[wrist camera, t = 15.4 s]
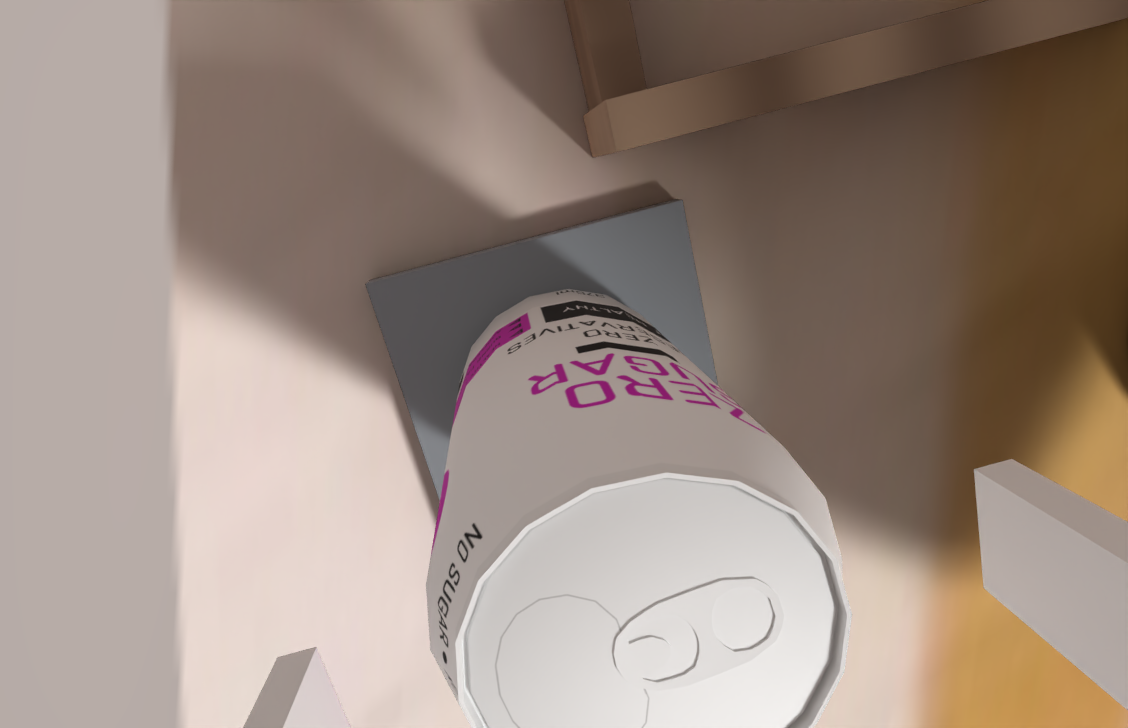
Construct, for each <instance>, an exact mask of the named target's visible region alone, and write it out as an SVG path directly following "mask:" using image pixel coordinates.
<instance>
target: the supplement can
mask: <svg viewBox="0 0 1128 728" xmlns="http://www.w3.org/2000/svg"><path fill="white" fill-rule="evenodd" d="M426 592H427V606H428V621H429V635H430V650H431V652H432V654H433V656H434V657H435V659H436V661H437V663H438V665H439V667H440V669H441V671H442V673H443V675H444V677H445V679H446V680H447V682H448V684H449V686H450V688H451V690H452V692H453V694H454V696H455V698H456V700H457V701H458V703H459V705H460V707H461V709H462V710H463V712H464V714H465V716H466V718H467V720H468V722H469V724H470V726H471V728H814V727H815V726H816V724H817V722H818V720H819V718H820V717H821V715H822V713H823V711H824V709H825V707H826V705H827V703H828V702H829V700H830V698H831V696H832V694H833V692H834V690H835V688H836V687H837V685H838V683H839V681H840V679H841V677H842V675H843V673H844V670H845V663H846V655H847V648H848V641H849V633H850V626H851V618H852V612H851V609H850V605H849V601H848V598H847V594H846V591H845V587H844V583H843V578H842V556H841V553H840V549H839V545H838V542H837V538H836V534H835V531H834V527H833V523H832V520H831V516H830V512H829V509H828V505H827V501H826V498H825V497H824V496H823V494H822V493H821V492H820V491H819V490H818V488H817V487H816V486H815V485H814V483H813V482H812V481H811V480H810V478H809V477H808V476H807V475H806V473H805V472H804V471H803V470H802V468H801V467H800V466H799V465H798V463H797V462H796V461H795V460H794V458H793V457H792V456H791V455H790V454H789V452H788V451H787V450H786V449H785V447H784V446H783V445H781V444H780V443H779V442H778V441H777V440H776V439H775V438H774V437H773V436H772V435H771V434H769V433H768V432H767V431H766V430H765V429H764V428H763V427H762V426H761V425H760V424H759V423H758V422H756V421H755V420H754V419H753V418H752V417H751V416H750V415H749V414H748V413H747V412H746V411H745V410H743V409H742V408H741V407H740V406H739V405H738V404H737V403H736V402H735V401H734V400H733V399H732V398H730V397H729V396H728V395H727V394H726V393H725V392H724V391H723V390H722V389H721V388H720V387H719V386H717V385H716V384H715V383H714V382H713V381H712V380H711V379H710V378H709V377H708V376H707V375H705V374H704V373H703V372H702V371H701V370H700V369H699V368H698V367H697V366H696V365H695V364H694V363H692V362H691V361H690V360H689V359H688V358H687V357H686V356H685V355H684V354H683V353H682V352H681V351H679V350H678V349H677V348H676V347H675V346H674V345H673V344H672V343H671V342H670V341H669V340H668V339H666V338H665V337H664V336H663V335H662V334H661V333H660V332H659V331H658V330H657V329H656V328H655V327H653V326H652V325H651V324H650V323H649V322H648V321H647V320H646V319H645V318H644V317H643V316H641V315H640V314H639V313H638V312H636V311H634V310H632V309H631V308H629V307H627V306H625V305H623V304H622V303H620V302H618V301H616V300H615V299H613V298H611V297H609V296H607V295H604V294H597V293H591V292H585V291H578V290H572V289H565V290H560V291H555V292H550V293H545V294H540V295H535V296H529V297H528V298H526V299H524V300H523V301H521V302H519V303H518V304H516V305H514V306H513V307H511V308H509V309H508V310H506V311H504V312H503V313H501V314H499V315H498V316H496V317H495V318H494V319H493V321H492V322H491V323H490V324H489V326H488V327H487V328H486V329H485V331H484V332H483V333H482V334H481V336H480V337H479V338H478V339H477V340H476V342H475V343H474V344H473V345H472V347H471V350H470V353H469V356H468V359H467V362H466V365H465V368H464V371H463V374H462V377H461V380H460V383H459V389H458V395H457V401H456V407H455V413H454V419H453V425H452V431H451V437H450V443H449V449H448V455H447V461H446V468H445V474H444V480H443V486H442V492H441V498H440V504H439V510H438V516H437V522H436V528H435V534H434V540H433V546H432V552H431V558H430V564H429V570H428V576H427V582H426Z"/></svg>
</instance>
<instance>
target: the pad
mask: <svg viewBox="0 0 1128 728" xmlns="http://www.w3.org/2000/svg"><path fill="white" fill-rule="evenodd" d="M365 285H366V288H367V290H368V293H369V296H370V299H371V302H372V305H373V308H374V311H375V314H376V317H377V320H378V322H379V325H380V328H381V331H382V334H383V337H384V340H385V343H386V346H387V349H388V352H389V355H390V357H391V360H392V363H393V366H394V369H395V372H396V375H397V378H398V381H399V384H400V387H401V389H402V392H403V395H404V398H405V401H406V404H407V407H408V410H409V413H410V416H411V419H412V421H413V424H414V427H415V430H416V433H417V436H418V439H419V442H420V445H421V448H422V451H423V454H424V456H425V459H426V462H427V465H428V468H429V471H430V474H431V477H432V480H433V483H434V486H435V488H436V491H437V494H438V497H439V500H440V498H441V492H442V486H443V480H444V474H445V468H446V461H447V455H448V449H449V443H450V437H451V431H452V425H453V419H454V413H455V407H456V401H457V395H458V389H459V383H460V380H461V377H462V374H463V371H464V368H465V365H466V362H467V359H468V356H469V353H470V350H471V347H472V345H473V344H474V343H475V342H476V340H477V339H478V338H479V337H480V336H481V334H482V333H483V332H484V331H485V329H486V328H487V327H488V326H489V324H490V323H491V322H492V321H493V319H494V318H495V317H496V316H498V315H499V314H501V313H503V312H504V311H506V310H508V309H509V308H511V307H513V306H514V305H516V304H518V303H519V302H521V301H523V300H524V299H526V298H528V297H529V296H535V295H540V294H545V293H550V292H555V291H560V290H565V289H572V290H578V291H585V292H591V293H597V294H604V295H607V296H609V297H611V298H613V299H615V300H616V301H618V302H620V303H622V304H623V305H625V306H627V307H629V308H631V309H632V310H634V311H636V312H638V313H639V314H640V315H641V316H643V317H644V318H645V319H646V320H647V321H648V322H649V323H650V324H651V325H652V326H653V327H655V328H656V329H657V330H658V331H659V332H660V333H661V334H662V335H663V336H664V337H665V338H666V339H668V340H669V341H670V342H671V343H672V344H673V345H674V346H675V347H676V348H677V349H678V350H679V351H681V352H682V353H683V354H684V355H685V356H686V357H687V358H688V359H689V360H690V361H691V362H692V363H694V364H695V365H696V366H697V367H698V368H699V369H700V370H701V371H702V372H703V373H704V374H705V375H707V376H708V377H709V378H710V379H711V380H712V381H713V382H714V383H715V384H716V385H717V386H718V383H717V377H716V372H715V367H714V362H713V357H712V351H711V346H710V341H709V336H708V331H707V325H706V320H705V315H704V310H703V304H702V299H701V294H700V289H699V284H698V278H697V273H696V268H695V263H694V258H693V252H692V247H691V242H690V237H689V232H688V226H687V221H686V216H685V211H684V205H683V200H679V199H674V200H670V201H666V202H663V203H659V204H655V205H651V206H647V207H644V208H640V209H636V210H632V211H629V212H625V213H621V214H617V215H614V216H610V217H606V218H602V219H599V220H595V221H591V222H587V223H584V224H580V225H576V226H572V227H568V228H565V229H561V230H557V231H553V232H550V233H546V234H542V235H538V236H535V237H531V238H527V239H523V240H520V241H516V242H512V243H508V244H505V245H501V246H497V247H493V248H489V249H486V250H482V251H478V252H474V253H471V254H467V255H463V256H459V257H456V258H452V259H448V260H444V261H441V262H437V263H433V264H429V265H426V266H422V267H418V268H414V269H410V270H407V271H403V272H399V273H395V274H392V275H388V276H384V277H380V278H377V279H373V280H370V281H369V282H367V283H366V284H365Z"/></svg>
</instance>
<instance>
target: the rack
mask: <svg viewBox="0 0 1128 728" xmlns="http://www.w3.org/2000/svg"><path fill="white" fill-rule="evenodd" d="M564 2H565V6H566V11H567V15H568V20H569V24H570V29H571V33H572V38H573V42H574V47H575V51H576V55H577V60H578V64H579V69H580V73H581V78H582V82H583V87H584V91H585V96H586V100H587V105H588V109H589V112H588V113H586V114H585V115H584V116H583V118H584V122H585V127H586V131H587V135H588V140H589V144H590V149H591V153H592V157H597V156H602V155H607V154H611V153H616V152H620V151H624V150H627V149H631V148H635V147H639V146H643V145H646V144H650V143H654V142H658V141H662V140H665V139H669V138H673V137H677V136H681V135H684V134H688V133H692V132H696V131H700V130H703V129H707V128H711V127H715V126H719V125H722V124H726V123H730V122H734V121H738V120H741V119H745V118H749V117H753V116H757V115H760V114H764V113H768V112H772V111H776V110H780V109H783V108H787V107H791V106H795V105H799V104H802V103H806V102H810V101H814V100H818V99H821V98H825V97H829V96H833V95H837V94H840V93H844V92H848V91H852V90H856V89H859V88H863V87H867V86H871V85H875V84H878V83H882V82H886V81H890V80H894V79H897V78H901V77H905V76H909V75H913V74H916V73H920V72H924V71H928V70H932V69H935V68H939V67H943V66H947V65H951V64H955V63H958V62H962V61H966V60H970V59H974V58H977V57H981V56H985V55H989V54H993V53H996V52H1000V51H1004V50H1008V49H1012V48H1015V47H1019V46H1023V45H1027V44H1031V43H1034V42H1038V41H1042V40H1046V39H1050V38H1053V37H1057V36H1061V35H1065V34H1069V33H1072V32H1076V31H1080V30H1084V29H1088V28H1091V27H1095V26H1099V25H1103V24H1107V23H1111V22H1114V21H1118V20H1122V19H1126V18H1128V0H988V1H984V2H980V3H976V4H973V5H969V6H965V7H961V8H957V9H953V10H949V11H946V12H942V13H938V14H934V15H930V16H926V17H923V18H919V19H915V20H911V21H907V22H903V23H899V24H896V25H892V26H888V27H884V28H880V29H876V30H873V31H869V32H865V33H861V34H857V35H853V36H850V37H846V38H842V39H838V40H834V41H830V42H826V43H823V44H819V45H815V46H811V47H807V48H803V49H800V50H796V51H792V52H788V53H784V54H780V55H777V56H773V57H769V58H765V59H761V60H757V61H753V62H750V63H746V64H742V65H738V66H734V67H730V68H727V69H723V70H719V71H715V72H711V73H707V74H703V75H700V76H696V77H692V78H688V79H684V80H680V81H677V82H673V83H669V84H665V85H661V86H657V87H654V88H650V89H647V88H646V83H645V78H644V73H643V68H642V63H641V58H640V53H639V48H638V43H637V38H636V33H635V28H634V23H633V18H632V13H631V7H630V2H629V0H564Z"/></svg>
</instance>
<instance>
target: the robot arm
mask: <svg viewBox="0 0 1128 728" xmlns="http://www.w3.org/2000/svg"><path fill="white" fill-rule="evenodd" d="M974 476H975V489H976V501H977V513H978V525H979V537H980V549H981V562H982V574H983V586H984V589H985V590H987V591H988V592H989V593H990V594H991V595H992V596H994V597H995V598H996V599H997V600H998V601H1000V602H1001V603H1002V604H1003V605H1004V606H1005V607H1007V608H1008V609H1009V610H1010V611H1011V612H1012V613H1014V614H1015V615H1016V616H1017V617H1018V618H1020V619H1021V620H1022V621H1023V622H1024V623H1025V624H1027V625H1028V626H1029V627H1030V628H1031V629H1033V630H1034V631H1035V632H1036V633H1037V634H1038V635H1040V636H1041V637H1042V638H1043V639H1044V640H1045V641H1047V642H1048V643H1049V644H1050V645H1051V646H1053V647H1054V648H1055V649H1056V650H1057V651H1058V652H1060V653H1061V654H1062V655H1063V656H1064V657H1066V658H1067V659H1068V660H1069V661H1070V662H1071V663H1073V664H1074V665H1075V666H1076V667H1077V668H1078V669H1080V670H1081V671H1082V672H1083V673H1084V674H1086V675H1087V676H1088V677H1089V678H1090V679H1091V680H1093V681H1094V682H1095V683H1096V684H1097V685H1098V686H1100V687H1101V688H1102V689H1103V690H1104V691H1106V692H1107V693H1108V694H1109V695H1110V696H1111V697H1113V698H1114V699H1115V700H1116V701H1117V702H1119V703H1120V704H1121V705H1122V706H1123V707H1124V708H1126V709H1127V710H1128V522H1127V521H1125V520H1123V519H1121V518H1119V517H1118V516H1116V515H1114V514H1112V513H1110V512H1108V511H1107V510H1105V509H1103V508H1101V507H1099V506H1097V505H1096V504H1094V503H1092V502H1090V501H1088V500H1086V499H1085V498H1083V497H1081V496H1079V495H1077V494H1075V493H1074V492H1072V491H1070V490H1068V489H1066V488H1064V487H1063V486H1061V485H1059V484H1057V483H1055V482H1053V481H1052V480H1050V479H1048V478H1046V477H1044V476H1042V475H1041V474H1039V473H1037V472H1035V471H1033V470H1031V469H1029V468H1028V467H1026V466H1024V465H1022V464H1020V463H1018V462H1017V461H1015V460H1013V459H1009V460H1006V461H1002V462H998V463H995V464H991V465H987V466H983V467H980V468H976V469H974ZM243 728H351V726H350V724H349V721H348V719H347V717H346V714H345V712H344V710H343V708H342V705H341V703H340V701H339V698H338V696H337V694H336V691H335V689H334V687H333V684H332V682H331V680H330V677H329V675H328V673H327V670H326V668H325V666H324V663H323V661H322V659H321V656H320V654H319V652H318V649H317V647H314V648H310V649H307V650H303V651H299V652H296V653H292V654H288V655H285V656H281V657H278V658H277V660H276V662H275V664H274V666H273V668H272V670H271V672H270V674H269V676H268V678H267V680H266V682H265V684H264V686H263V688H262V690H261V692H260V695H259V697H258V699H257V701H256V703H255V705H254V707H253V709H252V711H251V713H250V715H249V717H248V719H247V721H246V723H245V725H244V727H243Z"/></svg>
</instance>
